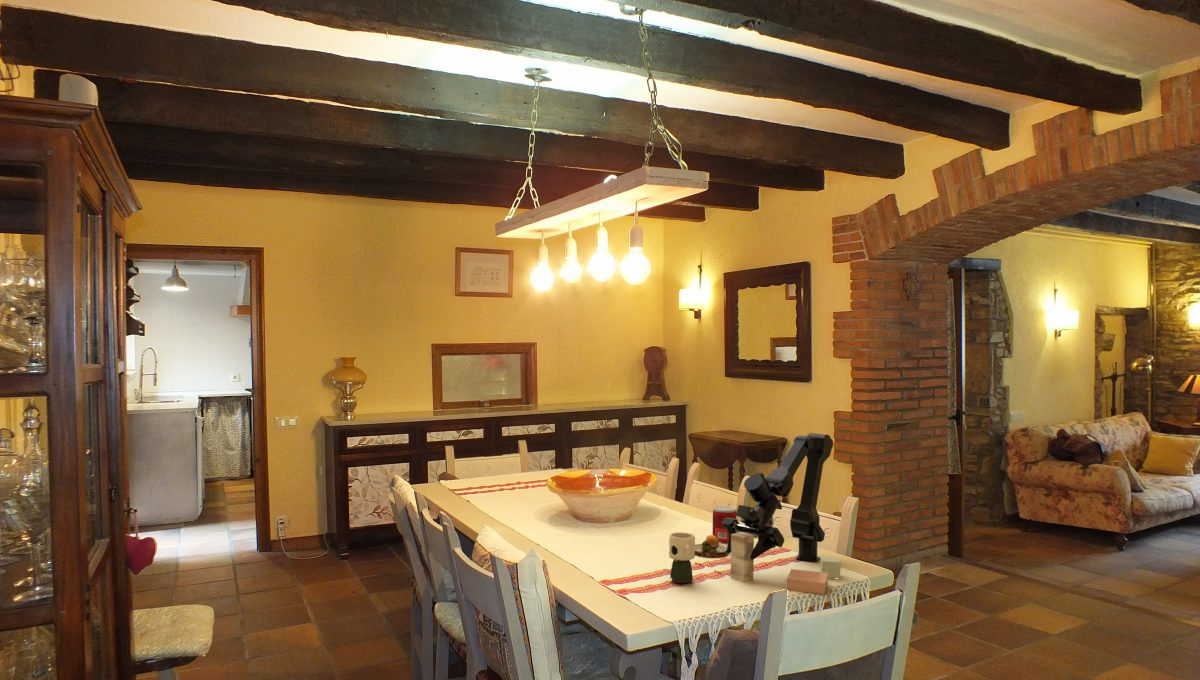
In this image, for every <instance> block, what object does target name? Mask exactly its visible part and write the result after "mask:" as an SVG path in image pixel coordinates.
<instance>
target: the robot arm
mask: <svg viewBox="0 0 1200 680" xmlns="http://www.w3.org/2000/svg"><path fill="white" fill-rule="evenodd" d="M833 448H834V440H833V439H832V438H831V436H830V435H829V434H824V433H814V432H811V433H808V434H807V435H797V436H795V437H794V440H793V443H792V445H791V447H790V449H789V450H788V451H787V453H786V455H785V456H784V458H783V460H782V461H781V463H780V464H779V466H778V467H777V468H775V469H773V470H771V471H770V472H769V474H767V476H765V475H764V473H763V472H758V471H756V473H755V474H753V475H751V476H749V477H747V478H746V479H745V480H744V483H743V487H744V488H745V490H746V491H747V493H748V494H749V496H750V497H751V499H752V500H753V501H754V502H756V503H755V505H754V507H752V506H747V505H742V504H738V505H737V508H736V517H739V518H741V522H742V524H743V525H742V524H741V523H740V522H739V521H738V519H737V518H736V519H733V518H729V517H727V518H724V520H723V522H722V525H723V527H724V528H725V529H726V531H727V532H728V533H729V538H728V543H727V546H726V548H727V553H728V555H729V554H730V555H731V534H734V533H739V532H743V533H748V534H752V535H756V536H759V537H758V538H757V539H758V540H757V542H756V544H755V545H754V549H753V551H752V553H751V556H750V559H751V560H753V559H754V560H755V559H756V558H758V557H759V556H762V555H763V554H764V553H766V552H767V551H770V550H772V549H776V547H778V548H782V547H783V545H784V543H785V538H784V536H783V534H782V533H781V531H780V530H779V528H777V527H775V526H772V527H770V526H768V524H770V525H771V524H772V520H771V518H772V517H774V514H775V513H776V511H777V510H782V509H783V506H782V504H781V499H779V498H778V497H782V498H785V497H788V496H789V495H790V493H791V491H792V488H793V486H794V477H795V474H796V472H797V471H798V469H799V468H800V466H801V464H802V462H803V461H804V459H805V458H807V460H806V461H807V462H806V468H805V474H804V479H803V485H802V490H801V496H800V502H799V505H798V507H797V508H793V509H792V511H791V516H790V519H789V523H790V524H789V526H790V531H791V535H792V536H791V537H792V538H795V539H798V553H797V555H796V558H795V559H796V560H797V561H806V562H807V561H808V562H814V561H818V562H819V560H818V559H820V556H819V557H818V556H817V555H818V544H819V543H822V542H823V541H824V540H825V535H826V533H825V532H824V531H825V530H823V528H822V527H821V525H820V520H821V518H820V515H819V512H818V510H817V505H818V504H817V503H818V498H819V494H820V492H819V491H820V486H821V481H822V475H823V469H824V463H825V462H826V461H827V459H829V458H830V456H831V453H832V449H833ZM818 542H819V543H818Z"/></svg>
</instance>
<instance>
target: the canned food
mask: <svg viewBox="0 0 1200 680" xmlns="http://www.w3.org/2000/svg"><path fill="white" fill-rule="evenodd" d="M736 512H737V508H736V507H733V506H726V505H725V506H723V505H718V506H713V507H712V535H713V536H715V537H716V538H717V539H718V541H719V542H721V543H720V544H728V538H729V533H728V532H727V531H726V529H725V528H724V527H723V525H722V522H723V520H724V518H727V517H729V518H733V519H737V516H736ZM715 534H716V535H715Z"/></svg>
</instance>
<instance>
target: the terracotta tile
mask: <svg viewBox="0 0 1200 680" xmlns="http://www.w3.org/2000/svg"><path fill="white" fill-rule="evenodd" d="M828 584H829V579H828V573H822V572H819V571H812V570H811V571H810V570H802V569H796V568H795V569H794V568H791V569H790V570H789V572H788V575H787V577H786V586H785V587H786V589H788V591H795V592H804V593H811V594H818V595H819V594H820V595H826V592H827V589H826V588H828Z"/></svg>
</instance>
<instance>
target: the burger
mask: <svg viewBox="0 0 1200 680" xmlns="http://www.w3.org/2000/svg"><path fill="white" fill-rule="evenodd" d="M715 535H716V534H715ZM699 554H700V556H701V557H703V558H709V557H714V558H720V557H722V558H724V557H726V556H728V555H729V554H728V553H727V546H724V545H721V544H720V543H719V541H718V539H717V538H716V537H715V536H713V534H709V535H707V536H706V537H705V540H704V541H703V542H701V543H697V544H696V543H695V556H698V557H699Z"/></svg>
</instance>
